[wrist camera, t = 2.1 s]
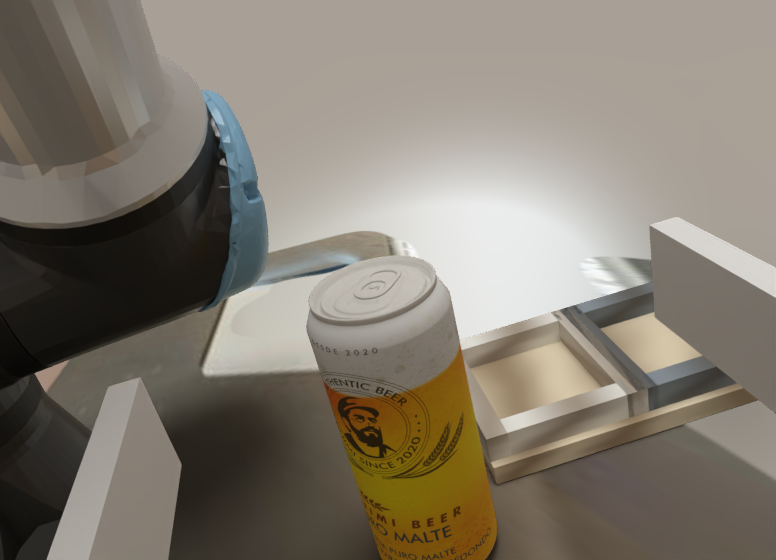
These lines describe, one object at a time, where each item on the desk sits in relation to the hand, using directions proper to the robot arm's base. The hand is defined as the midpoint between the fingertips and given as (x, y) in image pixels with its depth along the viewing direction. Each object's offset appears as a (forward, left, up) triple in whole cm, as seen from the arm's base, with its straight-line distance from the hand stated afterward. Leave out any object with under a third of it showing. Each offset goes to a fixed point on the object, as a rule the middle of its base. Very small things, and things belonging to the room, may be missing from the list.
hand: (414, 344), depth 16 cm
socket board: (+13, +18, -18) cm, 28 cm away
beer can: (0, +10, -18) cm, 21 cm away
